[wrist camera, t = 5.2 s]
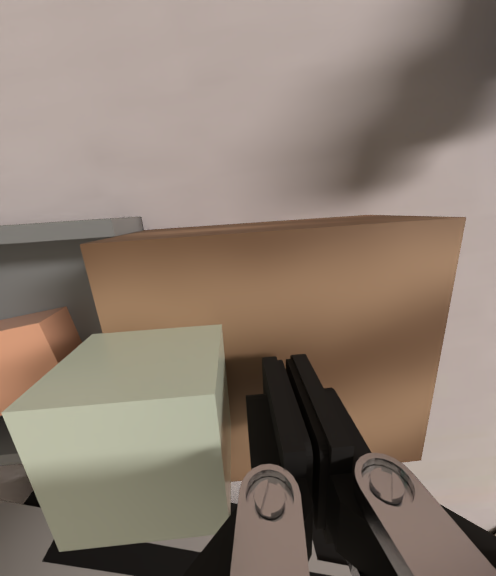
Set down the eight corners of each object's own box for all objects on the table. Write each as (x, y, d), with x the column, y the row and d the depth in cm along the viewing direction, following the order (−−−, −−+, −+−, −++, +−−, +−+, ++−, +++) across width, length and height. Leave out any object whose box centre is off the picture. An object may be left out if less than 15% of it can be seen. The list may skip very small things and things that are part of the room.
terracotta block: (-12, 418, 15) (21, 389, 17) (75, 398, 15) (95, 373, 17) (-59, 343, 13) (-16, 323, 15) (38, 322, 13) (66, 306, 16)
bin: (174, 401, 19) (160, 448, 15) (7, 417, 19) (-51, 471, 15) (141, 216, 15) (110, 218, 11) (-73, 230, 15) (-181, 237, 11)
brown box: (355, 375, 20) (420, 460, 13) (174, 392, 19) (143, 491, 12) (367, 214, 16) (466, 217, 9) (145, 230, 15) (79, 244, 9)
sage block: (231, 425, 11) (230, 532, 8) (118, 435, 11) (59, 552, 7) (221, 324, 10) (214, 394, 6) (92, 333, 10) (1, 412, 6)
